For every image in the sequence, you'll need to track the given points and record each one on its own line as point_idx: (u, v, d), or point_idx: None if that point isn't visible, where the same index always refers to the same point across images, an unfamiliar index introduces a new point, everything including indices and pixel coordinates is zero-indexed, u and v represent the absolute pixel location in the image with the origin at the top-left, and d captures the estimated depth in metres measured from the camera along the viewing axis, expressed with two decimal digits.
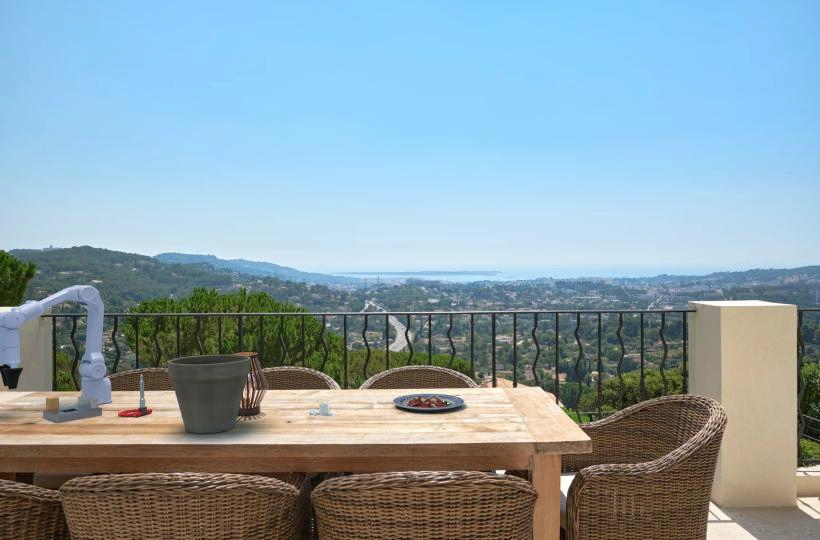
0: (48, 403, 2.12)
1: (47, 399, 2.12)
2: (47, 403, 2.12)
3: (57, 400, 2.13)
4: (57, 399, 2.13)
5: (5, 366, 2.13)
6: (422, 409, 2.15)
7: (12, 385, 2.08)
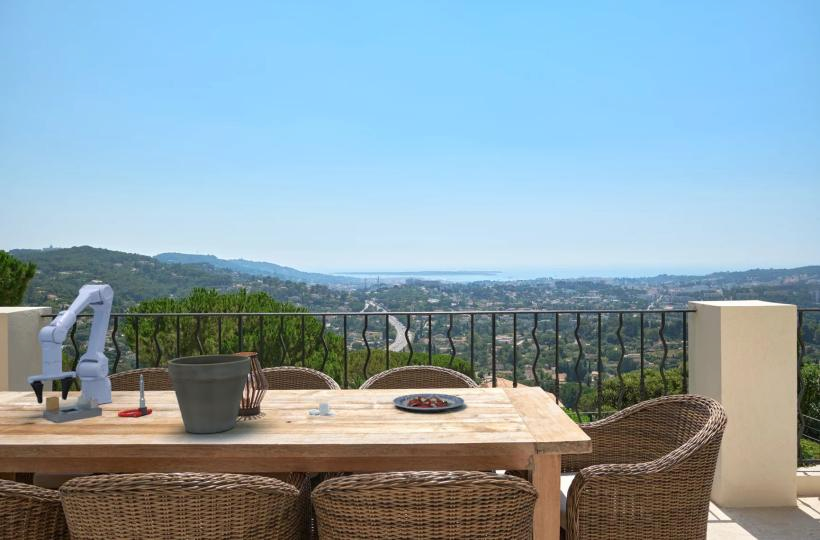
0: (48, 403, 2.12)
1: (47, 399, 2.12)
2: (47, 403, 2.12)
3: (57, 400, 2.13)
4: (57, 399, 2.13)
5: (63, 379, 2.17)
6: (422, 409, 2.15)
7: (38, 399, 2.10)
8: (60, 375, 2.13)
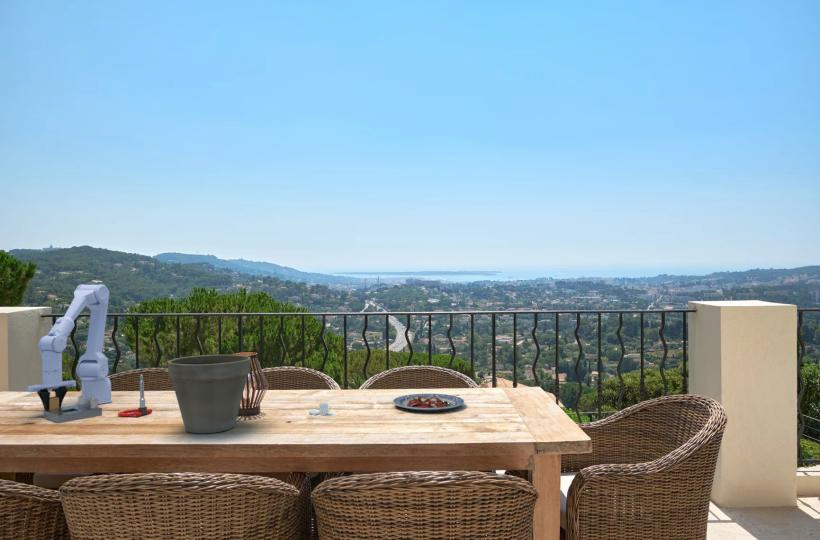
0: None
1: None
2: None
3: (57, 400, 2.13)
4: (57, 399, 2.13)
5: (57, 389, 2.15)
6: (422, 409, 2.15)
7: (45, 407, 2.12)
8: (60, 384, 2.13)
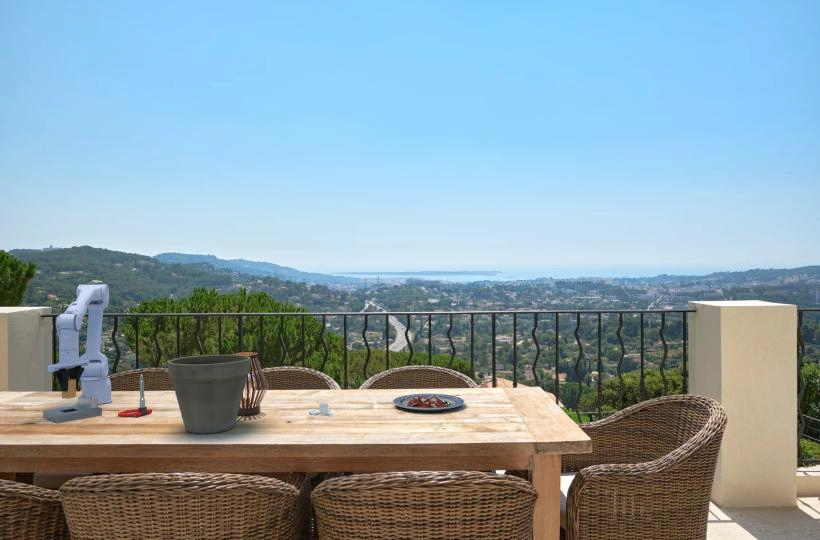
0: None
1: None
2: None
3: (74, 382, 2.10)
4: (74, 381, 2.10)
5: (72, 369, 2.11)
6: (422, 409, 2.15)
7: (63, 387, 2.08)
8: (78, 363, 2.10)
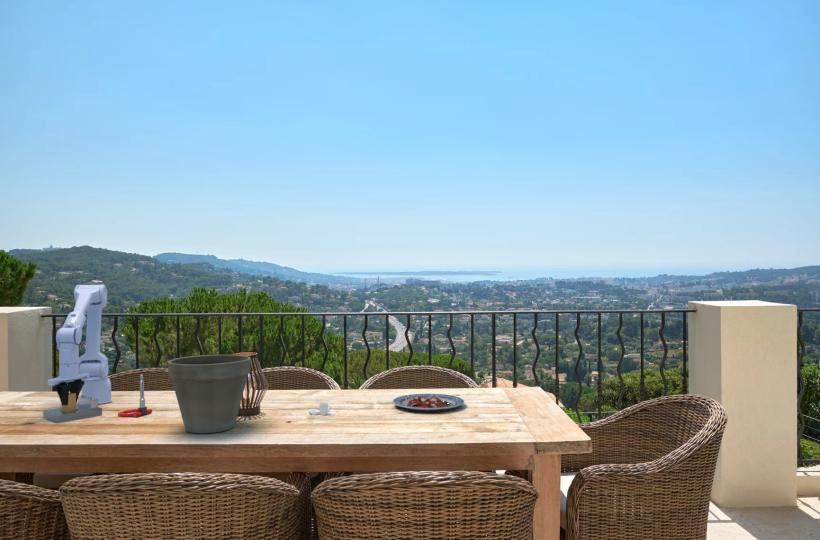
0: None
1: None
2: None
3: (74, 396, 2.10)
4: (74, 395, 2.10)
5: (72, 382, 2.11)
6: (422, 409, 2.15)
7: (63, 401, 2.08)
8: (79, 377, 2.10)
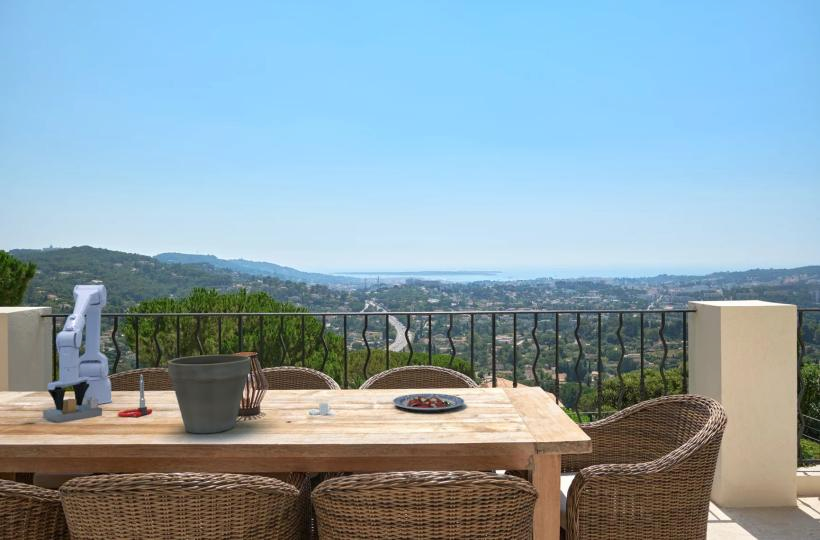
0: (66, 405, 2.08)
1: (64, 401, 2.08)
2: (64, 406, 2.08)
3: (75, 402, 2.10)
4: (75, 401, 2.10)
5: (76, 385, 2.13)
6: (422, 409, 2.15)
7: (58, 406, 2.06)
8: (79, 380, 2.10)
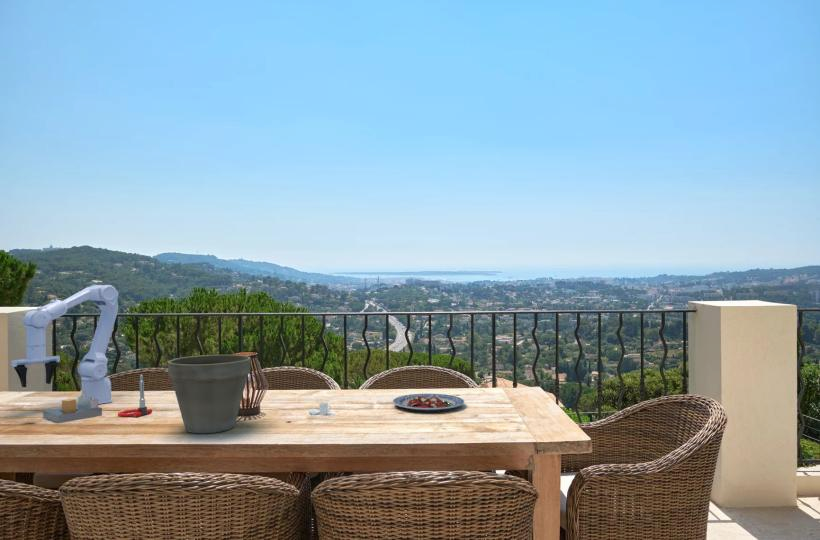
0: (66, 405, 2.08)
1: (64, 401, 2.08)
2: (64, 406, 2.08)
3: (75, 402, 2.10)
4: (75, 401, 2.10)
5: (47, 364, 2.18)
6: (422, 409, 2.15)
7: (22, 383, 2.12)
8: (44, 359, 2.15)
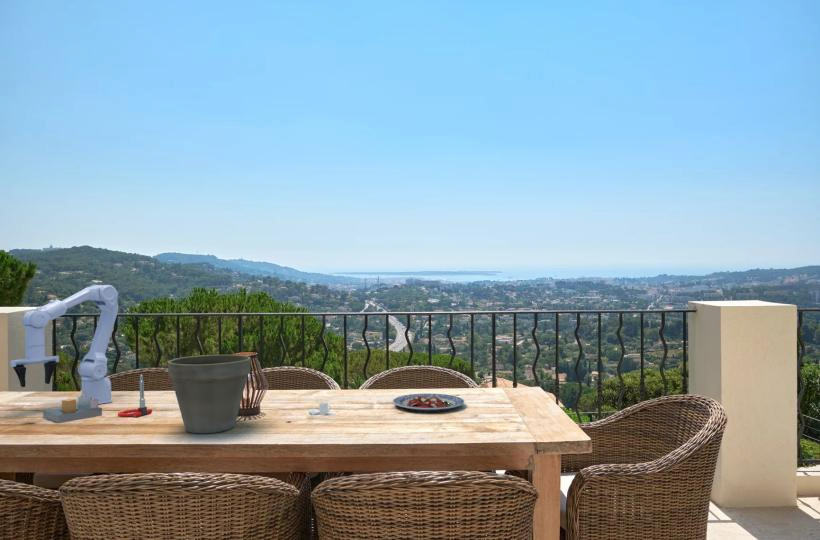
0: (66, 405, 2.08)
1: (64, 401, 2.08)
2: (64, 406, 2.08)
3: (75, 402, 2.10)
4: (75, 401, 2.10)
5: (46, 364, 2.19)
6: (422, 409, 2.15)
7: (21, 383, 2.12)
8: (43, 359, 2.15)
